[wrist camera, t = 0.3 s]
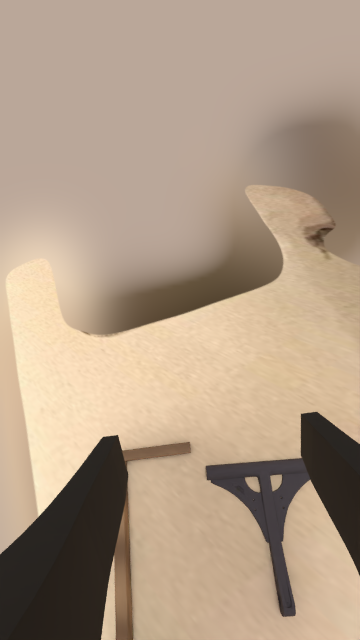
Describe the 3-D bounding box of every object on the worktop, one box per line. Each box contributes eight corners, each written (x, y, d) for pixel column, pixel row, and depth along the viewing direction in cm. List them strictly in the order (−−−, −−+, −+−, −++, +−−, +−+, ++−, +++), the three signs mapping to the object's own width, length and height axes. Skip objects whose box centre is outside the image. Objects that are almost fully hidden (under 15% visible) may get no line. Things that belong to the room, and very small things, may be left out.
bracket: (219, 613, 33) (222, 627, 30) (205, 465, 39) (206, 466, 36) (348, 603, 33) (362, 616, 30) (313, 456, 39) (322, 457, 36)
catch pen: (216, 664, 30) (218, 681, 28) (122, 677, 30) (117, 695, 28) (189, 442, 39) (189, 442, 37) (117, 452, 39) (112, 452, 37)
